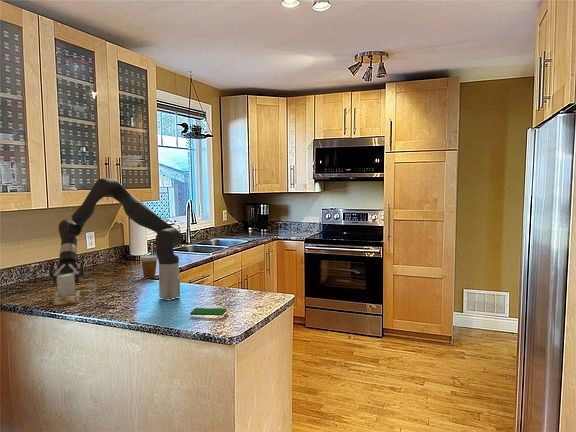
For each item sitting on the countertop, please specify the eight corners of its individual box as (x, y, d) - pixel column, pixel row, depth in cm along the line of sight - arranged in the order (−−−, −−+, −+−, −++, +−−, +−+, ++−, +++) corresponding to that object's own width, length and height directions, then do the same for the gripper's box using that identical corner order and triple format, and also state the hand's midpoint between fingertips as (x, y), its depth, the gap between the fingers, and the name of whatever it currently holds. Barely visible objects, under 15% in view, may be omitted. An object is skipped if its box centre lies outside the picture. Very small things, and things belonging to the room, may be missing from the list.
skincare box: (70, 297, 195) (69, 273, 194) (75, 299, 193) (74, 274, 192) (57, 301, 190) (56, 275, 189) (63, 302, 188) (61, 276, 187)
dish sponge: (195, 313, 176) (195, 307, 176) (227, 314, 175) (227, 308, 174) (190, 318, 169) (189, 313, 169) (223, 320, 168) (222, 314, 167)
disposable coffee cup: (160, 275, 241) (160, 254, 240) (153, 279, 231) (153, 258, 230) (145, 274, 242) (144, 254, 241) (137, 278, 232) (137, 257, 231)
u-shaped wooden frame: (80, 296, 198) (79, 290, 197) (77, 302, 188) (77, 296, 187) (56, 298, 194) (56, 292, 194) (52, 305, 184) (52, 298, 184)
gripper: (50, 251, 195) (47, 280, 186) (83, 249, 201) (82, 277, 191) (52, 259, 201) (49, 288, 191) (85, 258, 206) (83, 286, 197)
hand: (66, 283), depth 191 cm, fingers open, 8 cm apart
